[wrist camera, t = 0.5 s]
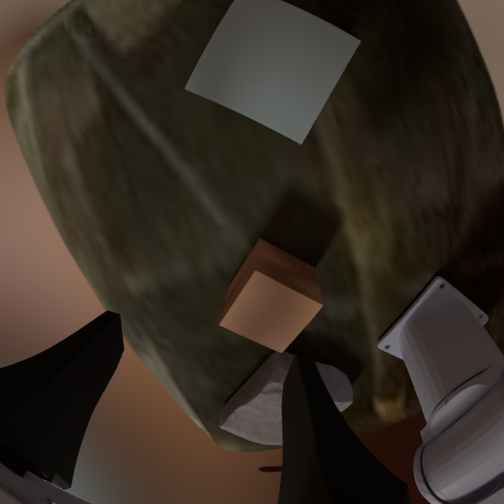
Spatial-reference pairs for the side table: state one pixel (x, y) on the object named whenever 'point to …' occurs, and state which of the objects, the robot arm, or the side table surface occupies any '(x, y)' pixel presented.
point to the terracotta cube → (271, 297)
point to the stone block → (274, 399)
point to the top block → (273, 64)
